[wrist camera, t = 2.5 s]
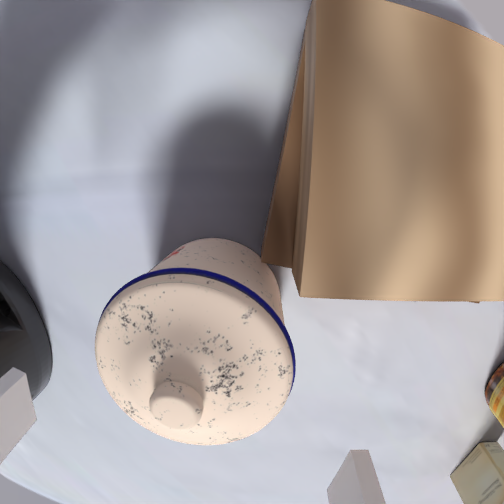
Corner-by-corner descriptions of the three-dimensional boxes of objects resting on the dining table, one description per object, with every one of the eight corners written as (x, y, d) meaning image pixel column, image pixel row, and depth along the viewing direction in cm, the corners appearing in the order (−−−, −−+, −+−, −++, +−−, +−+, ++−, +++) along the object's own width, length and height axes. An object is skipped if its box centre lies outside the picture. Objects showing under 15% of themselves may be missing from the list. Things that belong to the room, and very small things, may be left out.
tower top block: (291, 271, 17) (299, 297, 13) (305, 22, 14) (315, -13, 10) (492, 280, 17) (528, 300, 13) (503, 78, 14) (539, 66, 10)
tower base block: (261, 247, 21) (261, 262, 17) (303, 34, 18) (311, 7, 14) (451, 285, 21) (479, 303, 18) (484, 101, 18) (515, 93, 14)
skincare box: (479, 441, 25) (524, 510, 13) (498, 440, 25) (541, 502, 13) (447, 477, 26) (481, 546, 14) (468, 475, 26) (502, 537, 14)
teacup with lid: (167, 215, 20) (68, 258, 9) (302, 256, 21) (346, 344, 9) (136, 366, 23) (71, 472, 12) (248, 400, 23) (240, 526, 12)
